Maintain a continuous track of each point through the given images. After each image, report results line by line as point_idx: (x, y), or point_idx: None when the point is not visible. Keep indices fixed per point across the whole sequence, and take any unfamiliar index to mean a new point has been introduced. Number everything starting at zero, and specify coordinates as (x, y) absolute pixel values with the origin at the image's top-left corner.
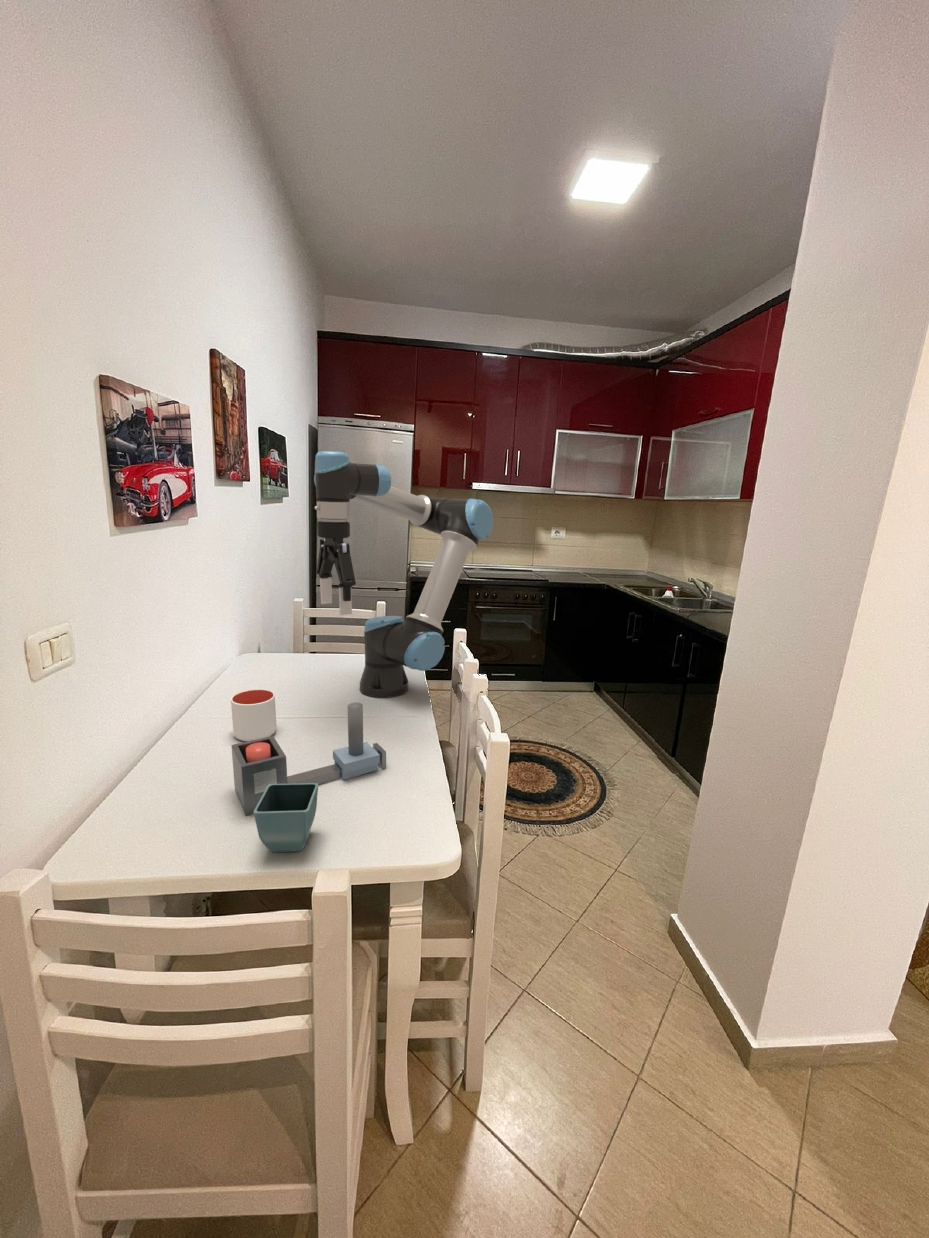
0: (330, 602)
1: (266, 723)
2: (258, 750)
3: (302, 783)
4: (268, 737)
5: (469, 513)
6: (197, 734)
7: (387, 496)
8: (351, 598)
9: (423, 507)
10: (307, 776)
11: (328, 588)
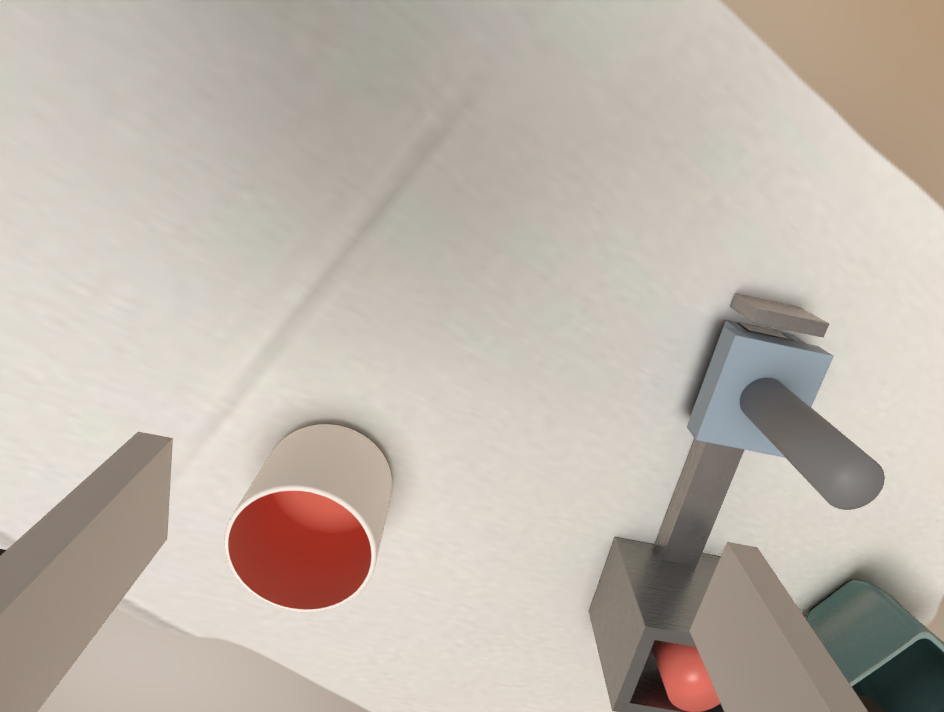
0: (166, 461)
1: (385, 495)
2: (714, 693)
3: (894, 653)
4: (645, 638)
5: None
6: (235, 579)
7: None
8: (846, 681)
9: None
10: (706, 511)
11: (64, 595)
